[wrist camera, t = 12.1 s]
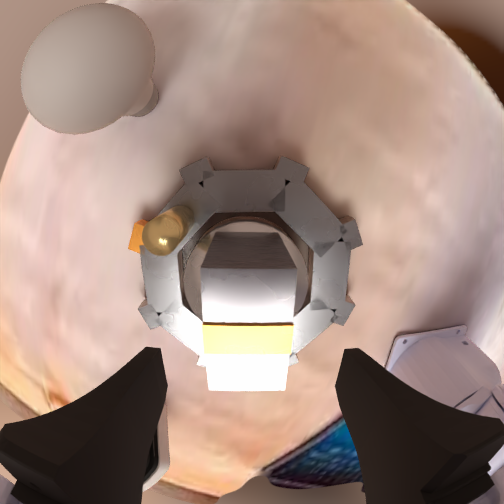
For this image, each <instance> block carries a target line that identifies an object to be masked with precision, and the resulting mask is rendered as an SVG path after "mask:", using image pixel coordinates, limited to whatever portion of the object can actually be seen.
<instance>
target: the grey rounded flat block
mask: <svg viewBox="0 0 504 504" xmlns="http://www.w3.org/2000/svg"><path fill="white" fill-rule="evenodd" d="M169 466H170V455H169V441H168V424H167V405H166V404H165V403H164V407H163V410H162V414H161V417H160V420H159V423H158V426H157V429H156V432H155V435H154V438H153V441H152V444H151V447H150V450H149V454H148V458H147V464H146V470H145V476H144V483H143V491H145V490H147V489H148V488H150V487H151V486H153V485H154V484H155V483H156V482H158V481H159V480H160V479H161V477H162V476H163V475H164V474H165V473H166V472H167V471H168V469H169ZM143 491H142V492H143Z"/></svg>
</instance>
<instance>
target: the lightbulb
mask: <svg viewBox="0 0 504 504" xmlns="http://www.w3.org/2000/svg"><path fill="white" fill-rule="evenodd" d="M154 62H155V49H154V43H153V39H152V36H151V32H150V31H149V29H148V28H147V26H146V24H145V23H144V22H143V20H142V19H141V18H140V17H138V16H137V15H136V14H135V13H133V12H132V11H130V10H128V9H126V8H124V7H121V6H118V5H114V4H108V3H98V4H89V5H84V6H80V7H77V8H75V9H72V10H70V11H68V12H66V13H64V14H62V15H60V16H59V17H57V18H56V19H55V20H53V21H52V22H51V23H49V24H48V25H47V26H46V27H45V28H44V29H43V30H42V32H41V33H40V34H39V35H38V37H37V38H36V39H35V41H34V42H33V44H32V45H31V47H30V49H29V51H28V53H27V55H26V58H25V60H24V63H23V67H22V72H21V89H22V95H23V99H24V101H25V104H26V106H27V109H28V110H29V112H30V114H31V115H32V116H33V117H34V118H35V119H36V120H37V121H38V122H39V123H41V124H42V125H43V126H45V127H47V128H49V129H51V130H53V131H55V132H58V133H65V134H73V135H75V134H84V133H89V132H93V131H96V130H99V129H102V128H104V127H106V126H108V125H110V124H112V123H114V122H115V121H117V120H118V119H119V118H121V117H122V116H135V117H140V116H144V115H146V114H148V113H149V112H151V111H152V110H153V109H154V107H155V106H156V104H157V101H158V90H157V88H156V87H155V85H154V84H153V81H152V78H151V75H152V72H153V68H154Z"/></svg>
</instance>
